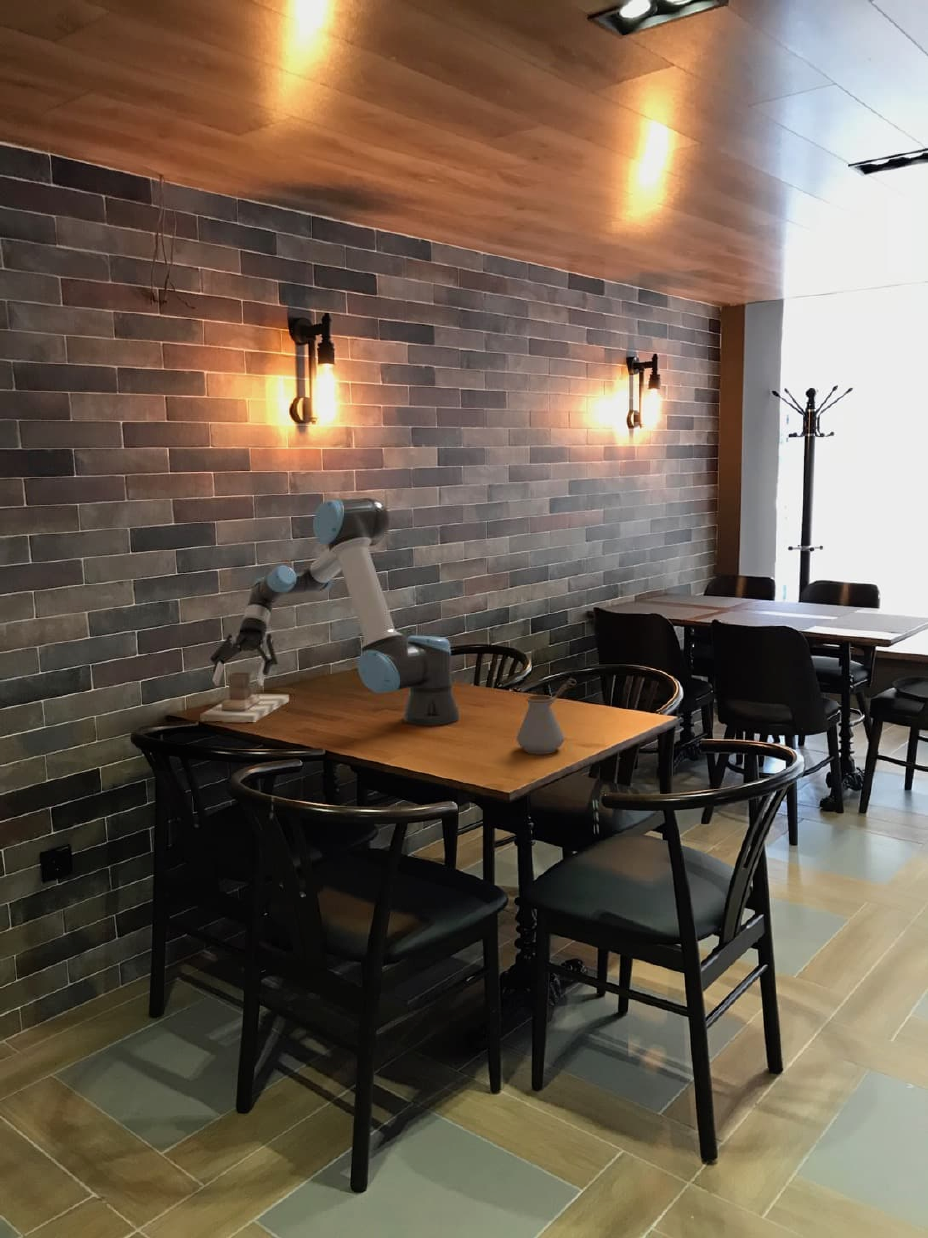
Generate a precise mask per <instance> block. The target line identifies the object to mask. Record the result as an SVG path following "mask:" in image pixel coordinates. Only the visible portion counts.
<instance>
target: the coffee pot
mask: <svg viewBox="0 0 928 1238" xmlns="http://www.w3.org/2000/svg"><path fill="white" fill-rule="evenodd" d="M572 681H574V682H575V683H574V684H573V683H572ZM576 683H577V681H576V680H575V679H573V677H570V678H569V679H568V680H567V681H565V682H564V684H563V685H562V686H561V687H560V688H559V689H558V690H557V692H555V694H554V695H553V696H550V695H546V694H535V695H530V696H526V698H525V699H526V701H528V708H527V711H526V712H525V713H526V714H525V717H524V718H523V721H522V723H521V726H520V728H519V731H518V732H517V733H518V734H517V736H516V741H517V743H518V745H519V746H520V747H521V748H522V749H523V750H524V751H525V752H526V753H529V754H535V755H545V754H552V753H554V752H556V751H557V749H558V748H560V747H561V746H562V744H563V743H564V741H565V736H564V734H563V732H562V728H561V727H560V724H559V723H558V719H556V716H555V713H554V711H553V709H552V707H551V706H552V705H553V703H554V702H555V701H556V699H558V698H559V697H560V696H561V695H562V694H563V693H564V692H565V691H566V689H567V687H569V686H570V685H572V686H574V685H576Z"/></svg>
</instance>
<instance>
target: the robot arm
mask: <svg viewBox="0 0 928 1238" xmlns="http://www.w3.org/2000/svg"><path fill="white" fill-rule="evenodd" d="M312 522H313V523H312V528H313V533H314V534H313V535H314V537H315V539H316V540H317V542H319V544H321V545H324V546H327V549H326V550H324V551H323V552H322V554H320V555H319V556H318V557H317V558H316V559H315V560H314V561H313V562H311V564H309V565H308V566H307V567H303V568H302V567H301V568H294V569H293V568H291V567H290V566H286V565H278V566H276V567H275V568H273V569H272V570H271V571H270V572H269V573H268V574H267V575H266V576H262V577H258V578H257V579H255V580H254V583H253V586H252V587H251V590H250V594H249V598H248V602H247V605H246V608H245V611H244V615H243V617H242V621H241V623H240V628H239V633H238V635H237V636H233V635H232V634H230V633H229V634H227V637H226V639H225V640H224V642H223V643H222V644H221V645H220V646H219V647H218V648H217V650H216V651H215V652H214V653H213V654H212V655H211V657H210V658H209V660H210V661H211V662H212V664H213V665H214V666H213V669H212V672H213V678H212V682H213V683H214V685H215V686H217V687H218V686H219V685H220V681H221V678H222V676H223V675H222V674H223V672H224V668H225V666H224V665H225V663H227V662H228V661H229V660H230V659H232V658H233V657H235V656H236V655H237V654H239V653H240V654H241V652H248V651H250V652H254V651H255V650H256V651H257V652H258V654H259V655H260V657H261V658H262V660H263V661H261V665H260V668H259V671H258V675H257V679H256V682H257V684H258V685H259V687H263V685H264V681H265V677H266V676H268V675H269V672H270V670H271V666H272V665H276V666H277V665H278V663H279V661H278V658H277V654H276V652H275V651H276V650H275V648H274V640H275V639H274V638H273V636H272V635H271V634H267V635H266V632H267V629H268V625H269V621H270V617H271V616H272V615H271V614H272V611H273V607H274V606H275V604H276V603H277V602H278V601H279V600H280V599H281V598H282V597H284V596H290V595H291V596H292V595H297V594H306V593H315V592H317V593H318V592H323V591H326V590H329V589H330V588H331V587H332V585H333V583H334V577H335V576H337V575H338V573H340V572H341V573H342V576H343V578H344V579H343V580H344V583H345V584H346V588H347V590H348V594H349V597H350V600H351V603H352V606H353V610H354V612H355V616H356V620H357V622H358V625H359V628H360V632H361V634H362V638H363V643H362V645H361V647H360V649H361V654H360V655H359V658H358V661H357V663H358V665H357V671H358V673H359V677H360V679H361V682H363V684H364V685H365V687H366V688H368V689H369V690H371V691H372V692H374V693H375V694H376V693H377V694H383V693H393V692H396V691H399V690H403V689H407V688H408V689H409V693H408V698H407V700H406V701H407V702H406V707H405V709H404V712H403V719H404V720H403V721H404V723H406V724H409V725H414V726H425V727H426V726H428V727H435V726H442V725H448V724H449V725H450V724H452V723H455V722H457V721H458V720H459V719H460V710H459V708H458V706H457V703H456V700H455V696H454V694H453V690H452V689H453V687H452V685H453V684H452V652H451V643H450V641H449V640H448V639H447V638H446V637H440V636H432V635H431V636H429V635H428V636H427V635H410V636H408V637H407V640H406V641H405V638H404V635H403V634H402V633H401V632H399V631H397V630H396V629H395V626H394V623H393V620H392V616H391V613H390V611H389V608H388V605H387V601H386V599H385V595H384V593H383V588H382V586H381V584H380V583H381V582H380V580H379V577H378V575H377V571H376V567H375V565H374V562H373V559H372V556H371V553H370V549H369V548H370V547H375V546H376V545H377V544H378V543H380V542H381V541H382V540H383V539H384V538H385V537H386V536H387V534H388V532H389V530H390V527H391V515H390V512H389V511H388V508H386V506H385V505H384V504H383V503H382V502H380V500H377V499H375V498H370V497H365V498H364V497H363V498H345V499H340V498H335V499H331V500H325V501H323V502H322V503H320V504H319V505H318V507H317V508H316V511H315V512H314V517H313V521H312ZM263 643H265V644H266V646H267V649H268V652H269V656H270V658H269V657H268V656H267V654H266V653H265V652H264V650H263V648H262V647H261V645H262V644H263Z"/></svg>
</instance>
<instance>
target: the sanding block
mask: <svg viewBox="0 0 928 1238" xmlns="http://www.w3.org/2000/svg"><path fill="white" fill-rule="evenodd" d="M227 678H228V689H229V697H228V698H226V699H225V700H223V701H221V703H222V711H247V710H248V709H250V708H251V707H253V706H254V705H256V704H258V703H259V702H260V699H259V694H260V693H252V690H251V688H252V687H251V686H252V685H251V673H250V672H234V673H231V674H230V675H228V677H227Z"/></svg>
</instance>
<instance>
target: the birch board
mask: <svg viewBox="0 0 928 1238" xmlns="http://www.w3.org/2000/svg"><path fill="white" fill-rule="evenodd" d="M258 694H259V699H260V702H259V703H258V704H256V705H254V706H253V707H251V708H250V709H248V710H247V711H222V702H221V703H219V704H217V705H215V706H214V707H212V708H210V709H208V710H206V711H204V712H202V713H201V714H200V716H199V717H200V719H199V720H200V722H203V721H206V720H207V721H208V720H210V721H223V722H222V723H246V722H254V723H256V722H257V721H259V720H261V719H262V718H264V717H265V716H267V715H269V714H271V713H272V712H274V711H276V710H277V709H278V708H280V707H282V706H284V705H285V704H286V703H288V702H290V695H289V694H276V693H273V694H272V693H270V694H269V693H258ZM281 705H282V706H281ZM273 710H274V711H273Z"/></svg>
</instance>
